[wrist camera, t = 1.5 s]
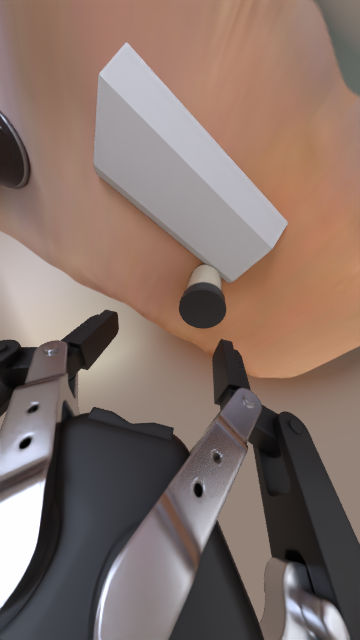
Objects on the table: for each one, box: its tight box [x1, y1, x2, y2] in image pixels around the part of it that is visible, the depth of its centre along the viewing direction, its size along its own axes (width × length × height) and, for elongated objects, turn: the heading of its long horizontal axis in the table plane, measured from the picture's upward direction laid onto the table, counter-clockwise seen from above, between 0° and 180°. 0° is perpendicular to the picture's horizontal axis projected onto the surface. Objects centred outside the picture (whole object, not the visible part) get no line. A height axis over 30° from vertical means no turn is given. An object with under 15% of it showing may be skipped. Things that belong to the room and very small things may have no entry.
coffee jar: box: [186, 264, 223, 292], centre depth 25 cm, size 6×6×11 cm
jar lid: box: [179, 282, 226, 328], centre depth 22 cm, size 7×7×2 cm
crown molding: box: [93, 42, 288, 283], centre depth 21 cm, size 29×12×4 cm, turn 55°
